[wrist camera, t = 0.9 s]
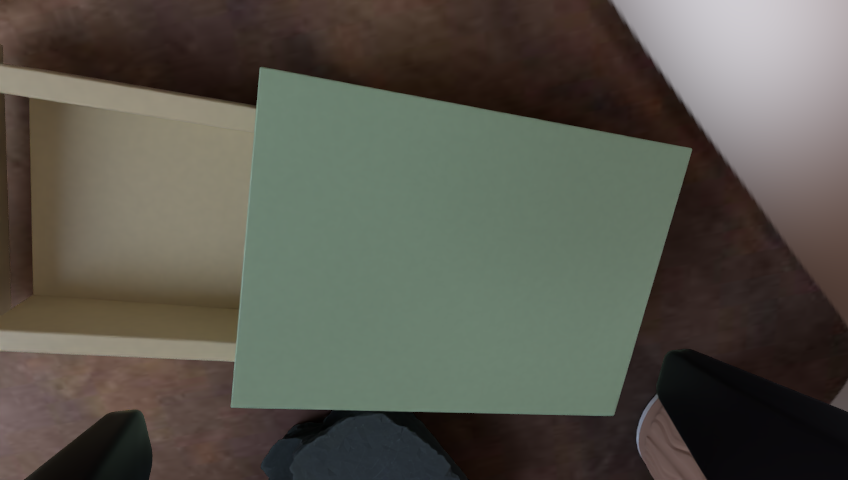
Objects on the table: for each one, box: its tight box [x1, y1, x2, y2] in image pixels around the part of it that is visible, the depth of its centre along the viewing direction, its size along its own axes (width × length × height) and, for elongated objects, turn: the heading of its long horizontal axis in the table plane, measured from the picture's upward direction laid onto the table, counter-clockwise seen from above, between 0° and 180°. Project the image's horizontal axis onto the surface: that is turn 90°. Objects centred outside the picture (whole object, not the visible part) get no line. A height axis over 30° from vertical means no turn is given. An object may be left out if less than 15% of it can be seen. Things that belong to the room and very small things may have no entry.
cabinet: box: [231, 67, 692, 416], centre depth 20 cm, size 15×11×6 cm
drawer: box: [0, 44, 256, 362], centre depth 17 cm, size 16×10×4 cm, turn 80°
